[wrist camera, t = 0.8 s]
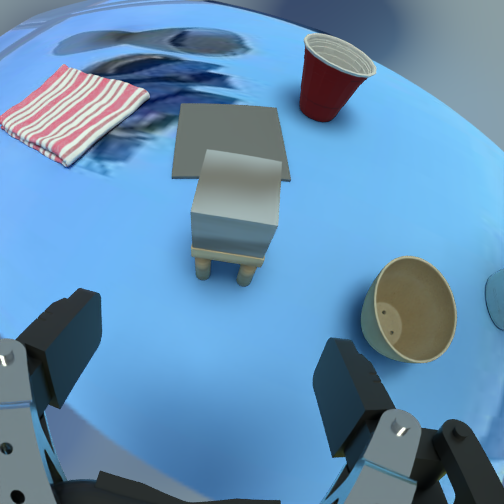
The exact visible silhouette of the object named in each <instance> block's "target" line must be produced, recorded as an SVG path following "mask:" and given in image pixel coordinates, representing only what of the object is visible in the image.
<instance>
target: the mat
mask: <svg viewBox="0 0 504 504" xmlns="http://www.w3.org/2000/svg"><path fill="white" fill-rule="evenodd" d="M207 149H209V150H216V151H223V152H229V153H236V154H242V155H248V156H253V157H259V158H265V159H270V160H275V161H280V162H282V170H281V181H290V180H291V177H290V172H289V167H288V162H287V156H286V151H285V146H284V141H283V136H282V132H281V127H280V122H279V117H278V113H277V108H272V107H261V106H247V105H230V104H181V108H180V115H179V122H178V129H177V136H176V144H175V152H174V160H173V169H172V179H199V177H200V173H201V169H202V166H203V162H204V158H205V155H206V151H207Z"/></svg>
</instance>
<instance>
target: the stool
mask: <svg viewBox="0 0 504 504" xmlns="http://www.w3.org/2000/svg"><path fill="white" fill-rule="evenodd" d="M281 170H282V162H280V161H275V160H270V159H265V158H259V157H253V156H248V155H242V154H236V153H229V152H223V151H216V150H209V149H207V151H206V155H205V158H204V162H203V166H202V169H201V173H200V177H199V181H198V184H197V188H196V192H195V196H194V200H193V204H192V208H191V230H192V246H191V256H192V257H195V269H196V276H197V278H198V279H200V280H206V279H208V278H209V276H210V268H211V260H216V261H222V262H229V263H235V264H241V265H240V268H239V272H238V275H237V279H236V280H237V283H238V284H239V285H240V286H243V287H245V286H248V285H249V284H250V282H251V280H252V277H253V275H254V273H255V271H256V268H257V267H261V266H262V264H263V262H264V258H265V253H266V251H267V249H268V247H269V245H270V242H271V240H272V238H273V236H274V234H275V231H276V229H277V227H278V219H279V203H280V187H281Z"/></svg>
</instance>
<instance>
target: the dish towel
mask: <svg viewBox="0 0 504 504" xmlns="http://www.w3.org/2000/svg"><path fill="white" fill-rule="evenodd" d="M149 98H150V95H149V93H148V92H147V91H146V90H145V89H143V88H139V87H135V86H133V85H131V84H129V83H125V82H123V81H119V80H114V79H111V80H110V79H106V78H103V77H99V76H97V75H92V74H85V73H83V72H82V71H80V70H77V69H73V68H68V67H67V66H66V65H65V64H63V65H62V66H61V67H60V68H59V69H58V70H57V71H56V72H55V73H54V74H53V75H52V76H51V77H50V78H49V79H47V80H46V81H45V82H44V84H43V85H42V86H41V87H40V88H38V89H37V90H35V91H34V92H32V93H31V94H30V95H29V96H28V97H27V98H25V99H24V100H23V101H22V102H20V103H19V104H17V105H15V106H13V107H11V108H10V109H9V110H7V111H6V112H5V113H4V114H2V115H1V116H0V124H2V126H1V129H3V130H5V131H6V132H7V133H8V134H9V135H10V136H12V137H14V138H16V139H19V140H20V141H21V142H23V143H24V144H26V145H27V146H29V147H31V148H33V149H36V150H38V151H39V152H40V153H41V154H43V155H45V156H46V157H47V158H49V159H52V160H53V161H55V162H59V163H61V164H63V165H64V166H65V167H69V166H70V165H71V164H73V163H74V162H75V161H76V160H77V159H78V158H80V157H81V156H82V155H83V154H84V153H85V152H86V151H87V150H88V149H89V148H90V147H91V146H92V145H94V144H95V143H96V142H97V141H98V140H99V139H101V138H102V137H103V136H104V135H105V134H107V133H108V132H109V131H110V130H111V129H113V128H114V127H115V126H116V125H118V124H119V123H120V122H122V121H123V120H124V119H126V118H127V117H128V116H130V115H131V114H132V113H133V112H134V111H135V110H136V109H138V107H139V106H141V105H142V104H143V103H144V102H145V101H146V100H148V99H149Z"/></svg>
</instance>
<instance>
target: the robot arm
mask: <svg viewBox="0 0 504 504" xmlns="http://www.w3.org/2000/svg"><path fill="white" fill-rule="evenodd" d="M486 301H487V307H488V310H489V313H490V316H491V318H492V320H493V322H494V323H495V324H496V326H497V327H498V328H500V329H502V330H504V268H503V269H502V270H500V271H498V272H497V273H495V274H493V275H491V276H490V277H489V279H488V281H487V285H486ZM101 337H102V317H101V296H100V294H99V293H97V292H93V291H89V290H86V289H82V288H79V289H77V290H76V291H75V292H74V293H73V294H72V295H71V296H70V297H69V298H68V299H67V298H63V299H61V300H58V301H56V302H54V303H52V304H51V305H50V306H49V307H48V308H47V309H46V310H45V312H43V313H42V314H41V315H40V316H39V317H38V319H35V320H34V321H33V322H32V323H31V324H30V325H29V326H28V327H27V328H26V329H25V330H24V331H23V332H22V333H21V334H20V335H19V336H18V338H17V339H16V340H14V339H0V504H281V502H280V500H251V499H229V500H220V501H208V502H194V503H192V502H185V501H182V500H180V499H177V498H175V497H172V496H170V495H168V494H165V493H163V492H160V491H159V490H156V489H154V488H152V487H150V486H148V485H145V484H143V483H140V482H136V481H133V480H129V479H125V478H122V477H119V476H115V475H112V474H109V473H106V472H103V471H100V472H99V475H98V478H97V480H90V479H79V480H69V481H67V478H66V476H65V474H64V472H63V470H62V467H61V465H60V462H59V460H58V457H57V454H56V450H55V447H54V444H53V440H52V437H51V433H50V429H49V425H48V422H47V417H46V414H45V409H46V407H47V406H48V404H49V405H51V406H54V407H56V408H59V409H61V407H62V405H63V404H64V402H65V400H66V399H67V397H68V395H69V393H70V392H71V390H72V388H73V387H74V385H75V383H76V382H77V380H78V378H79V377H80V375H81V374H82V372H83V370H84V369H85V367H86V366H87V364H88V362H89V361H90V359H91V358H92V356H93V354H94V353H95V351H96V350H97V348H98V346H99V344H100V341H101ZM376 374H377V373H376V371H375V369H374V367H373V365H372V363H371V362H370V361H368V360H367V359H366V358H365V357H364V356H363V355H362V354H359V353H358V351H357V349H356V348H355V346H354V344H353V342H352V341H351V340H349V339H340V338H329V339H328V341H327V343H326V345H325V348H324V350H323V352H322V355H321V357H320V360H319V362H318V364H317V367H316V369H315V371H314V375H313V388H314V392H315V396H316V399H317V403H318V406H319V410H320V414H321V417H322V421H323V425H324V428H325V432H326V436H327V440H328V443H329V447H330V451H331V455H332V458H334V457H346V461H347V462H346V464H345V465H344V466H343V467H342V469H341V471H340V472H339V474H338V476H337V477H336V479H335V481H334V482H333V484H332V486H331V487H330V489H329V490H328V492H327V493H326V495H325V497H324V498H323V500H322V501H321V503H320V504H448V503H447V500H446V498H445V495H444V493H443V490H442V488H441V485H440V483H439V480H440V479H441V478H442V477H443V476H444V475H445V474H446V473H447V475H448V477H449V480H450V482H451V484H452V487H453V489H454V491H455V501H454V503H453V504H504V488H503V485H502V483H501V482H500V480H499V478H498V476H497V474H496V472H495V470H494V468H493V466H492V464H491V463H490V461H489V459H488V457H487V455H486V453H485V452H484V450H483V448H482V446H481V445H480V443H479V441H478V439H477V438H476V436H475V434H474V433H473V431H472V430H471V428H470V427H469V426H468V425H467V424H465V423H464V422H462V421H459V420H455V419H450V420H447V421H446V422H445V423H444V424H443V425H442V426H441V428H440V429H439V430H433V429H426V428H421V426H420V424H419V422H418V420H417V419H416V418H415V417H414V416H413V415H411V414H410V413H408V412H406V411H403V410H399V409H396V408H395V406H394V404H393V402H392V400H391V398H390V397H389V395H388V393H387V391H386V389H385V387H384V385H383V384H382V383H381V380H380V378H379V376H378V375H376Z"/></svg>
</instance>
